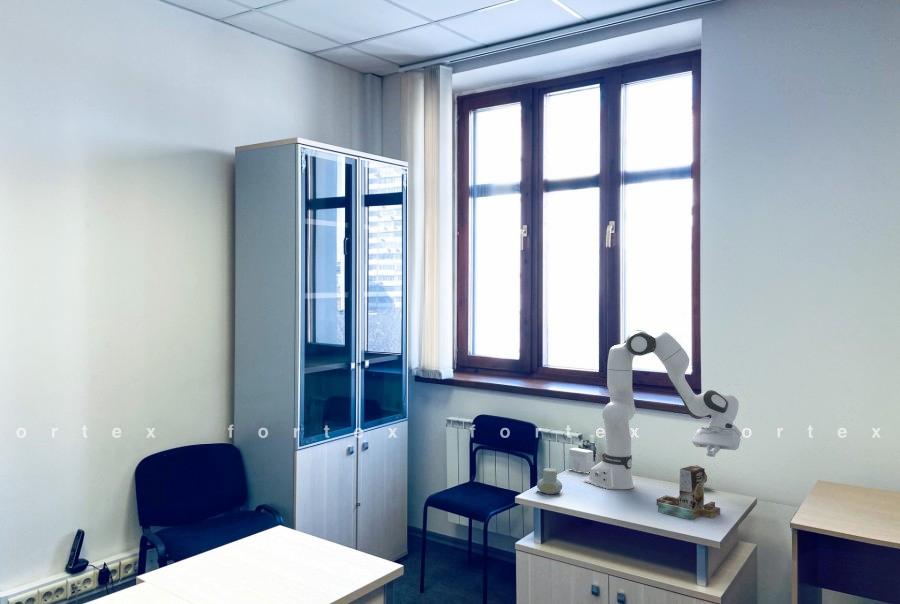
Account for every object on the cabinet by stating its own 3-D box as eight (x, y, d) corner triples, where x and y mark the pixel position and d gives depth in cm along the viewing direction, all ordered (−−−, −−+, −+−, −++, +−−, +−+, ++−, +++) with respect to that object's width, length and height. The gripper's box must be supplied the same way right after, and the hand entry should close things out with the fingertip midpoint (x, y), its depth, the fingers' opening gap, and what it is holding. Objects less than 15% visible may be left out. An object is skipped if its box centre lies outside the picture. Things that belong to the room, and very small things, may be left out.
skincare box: (593, 471, 333) (593, 450, 333) (585, 474, 329) (586, 452, 329) (575, 467, 341) (576, 446, 341) (568, 470, 336) (568, 448, 336)
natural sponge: (707, 486, 311) (707, 464, 311) (706, 491, 302) (707, 468, 302) (686, 483, 314) (686, 462, 314) (685, 488, 306) (685, 466, 306)
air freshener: (562, 491, 299) (563, 468, 299) (561, 496, 291) (561, 473, 291) (538, 488, 301) (538, 466, 301) (535, 494, 293) (536, 470, 293)
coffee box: (693, 511, 272) (693, 471, 272) (678, 507, 277) (679, 468, 277) (704, 507, 278) (705, 468, 278) (690, 503, 283) (690, 465, 283)
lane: (647, 509, 275) (647, 500, 275) (672, 498, 290) (672, 490, 290) (703, 522, 259) (703, 513, 259) (726, 510, 274) (726, 502, 274)
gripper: (695, 423, 302) (685, 449, 296) (738, 425, 286) (728, 453, 280) (702, 431, 305) (692, 457, 299) (745, 434, 289) (735, 462, 283)
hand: (710, 455), depth 289 cm, fingers closed
